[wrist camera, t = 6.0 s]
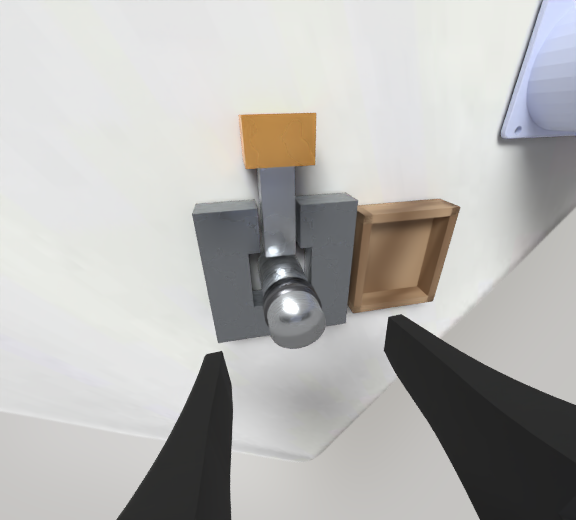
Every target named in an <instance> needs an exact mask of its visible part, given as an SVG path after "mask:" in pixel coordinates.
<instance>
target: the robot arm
mask: <svg viewBox="0 0 576 520" xmlns="http://www.w3.org/2000/svg"><path fill="white" fill-rule="evenodd" d="M515 130H516V131H515ZM555 136H576V0H543V2H542V5H541V8H540V12H539V15H538V18H537V21H536V24H535V27H534V30H533V33H532V36H531V40H530V43H529V46H528V49H527V52H526V55H525V58H524V61H523V64H522V68H521V71H520V74H519V77H518V80H517V83H516V86H515V89H514V93H513V96H512V99H511V102H510V105H509V108H508V111H507V114H506V117H505V121H504V124H503V127H502V130H501V137H502V138H507V139H512V138H533V137H555ZM384 351H385V353H386V355H387V357H388V360H389V362H390V364H391V365H392V367H393V369H394V371H395V373H396V374H397V376H398V378H399V379H400V380H401V382H402V383H403V385H404V387H405V388H406V390H407V391H408V393H409V394H410V396H411V397H412V399H413V400H414V402H415V403H416V405H417V406H418V408H419V409H420V410H421V412H422V413H423V415H424V416H425V418H426V419H427V421H428V422H429V424H430V426H431V427H432V429H433V431H434V432H435V434H436V436H437V437H438V439H439V441H440V443H441V445H442V447H443V448H444V450H445V452H446V454H447V456H448V458H449V459H450V461H451V463H452V465H453V467H454V469H455V471H456V472H457V475H458V477H459V478H460V480H461V482H462V484H463V486H464V488H465V490H466V492H467V494H468V496H469V498H470V500H471V502H472V504H473V506H474V508H475V510H476V512H477V515H478V516H479V519H480V520H576V405H574V404H571V403H569V402H566V401H564V400H561V399H559V398H556V397H553V396H551V395H549V394H546V393H544V392H542V391H539V390H537V389H535V388H532V387H530V386H528V385H526V384H523V383H521V382H519V381H517V380H514V379H512V378H510V377H508V376H506V375H504V374H502V373H500V372H498V371H496V370H494V369H492V368H490V367H488V366H486V365H484V364H483V363H481V362H479V361H477V360H475V359H473V358H472V357H470V356H468V355H466V354H465V353H463V352H461V351H459V350H458V349H456V348H454V347H453V346H451V345H449V344H447V343H446V342H444V341H443V340H441V339H440V338H438V337H436V336H435V335H433V334H432V333H430V332H428V331H427V330H425V329H424V328H422V327H421V326H419V325H418V324H416V323H414V322H413V321H411V320H410V319H408V318H407V317H405V316H403V315H402V314H401V315H396V316H391V317H388V324H387V332H386V339H385V347H384ZM232 421H233V402H232V386H231V381H230V377H229V374H228V370H227V367H226V363H225V360H224V356H223V352H222V351H220V352H215V353H210V354H207V355H206V356H205V357H204V360H203V363H202V366H201V368H200V371H199V374H198V376H197V379H196V381H195V384H194V386H193V388H192V391H191V393H190V395H189V397H188V399H187V402H186V404H185V406H184V408H183V410H182V412H181V414H180V416H179V418H178V420H177V422H176V424H175V426H174V428H173V430H172V432H171V434H170V436H169V437H168V439H167V441H166V443H165V445H164V446H163V448H162V450H161V452H160V453H159V455H158V457H157V458H156V460H155V462H154V463H153V465H152V467H151V468H150V470H149V472H148V474H147V475H146V476H145V478H144V480H143V481H142V483H141V484H140V486H139V487H138V489H137V491H136V492H135V494H134V495H133V497H132V498H131V500H130V501H129V503H128V504H127V505H126V507H125V508H124V510H123V511H122V513H121V514H120V515H119V517H118V518H117V520H231V504H230V503H231V502H230V465H231V445H232Z"/></svg>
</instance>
